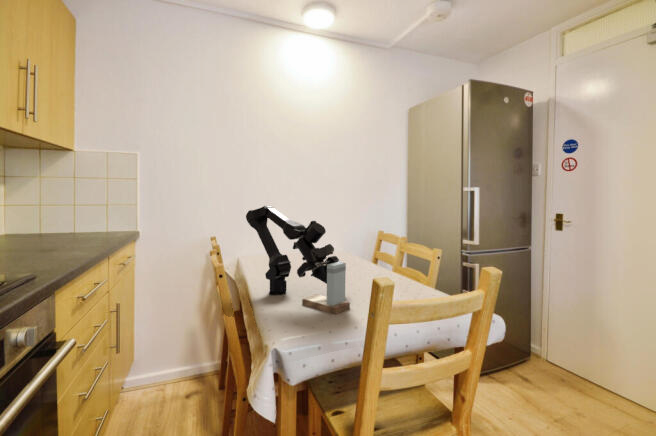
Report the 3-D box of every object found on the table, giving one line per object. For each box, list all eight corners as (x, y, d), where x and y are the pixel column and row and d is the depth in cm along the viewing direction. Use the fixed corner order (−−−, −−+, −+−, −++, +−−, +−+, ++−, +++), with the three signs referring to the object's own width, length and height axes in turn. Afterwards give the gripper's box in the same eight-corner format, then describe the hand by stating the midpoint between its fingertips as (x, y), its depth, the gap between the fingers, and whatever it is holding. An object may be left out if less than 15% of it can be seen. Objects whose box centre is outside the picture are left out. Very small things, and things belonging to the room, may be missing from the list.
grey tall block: (326, 303, 107) (326, 264, 106) (338, 299, 113) (338, 261, 112) (333, 305, 105) (333, 265, 105) (345, 300, 111) (345, 262, 110)
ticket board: (302, 304, 114) (302, 298, 114) (316, 299, 120) (316, 293, 120) (336, 314, 104) (336, 308, 104) (349, 308, 110) (349, 302, 110)
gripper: (303, 239, 105) (327, 276, 99) (335, 235, 120) (358, 267, 114) (287, 259, 110) (309, 295, 104) (319, 252, 125) (341, 284, 119)
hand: (331, 284), depth 110 cm, fingers closed
